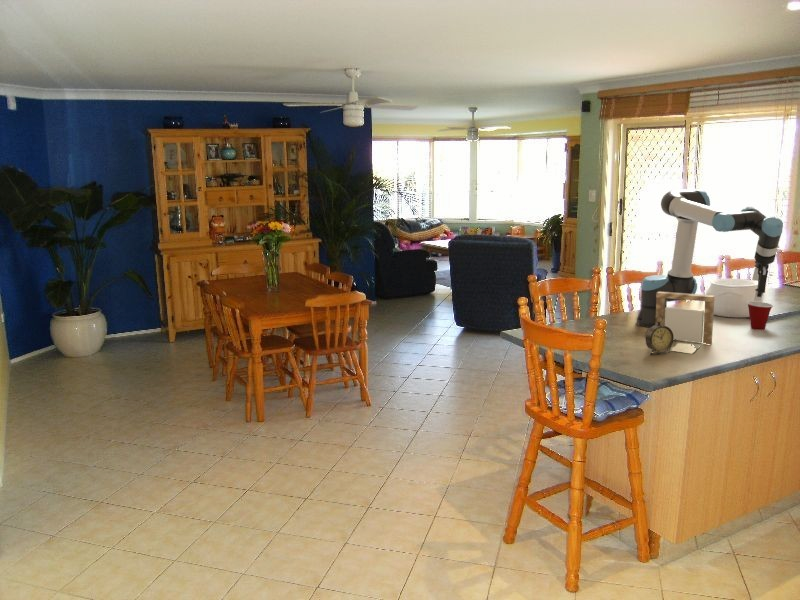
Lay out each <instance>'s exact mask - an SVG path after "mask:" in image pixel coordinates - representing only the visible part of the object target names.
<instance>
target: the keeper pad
mask: <svg viewBox="0 0 800 600" xmlns="http://www.w3.org/2000/svg"><path fill="white" fill-rule="evenodd" d="M689 343H690V344H691V346H692V344H693V345H694V346H695V347H694V348H696V349H697V348H698V347H699V346H700V345H701V346H702V344H701V343H694V342H692V343H691V342H689Z"/></svg>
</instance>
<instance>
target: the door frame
mask: <svg viewBox="0 0 800 600" xmlns="http://www.w3.org/2000/svg"><path fill="white" fill-rule="evenodd" d="M656 297H657V298H656V317H657V316H658V315H661V316H662V317H663V320H662V317H661V316H658V317H657V322H660V325H662V326H664V320H665V298H670V299H683V301H685V300H686V301H698V302H704V317H703V336H702V344H703V343H706V344H711V343H712V342H713V332H714V331H713V326H714V314H713V313H714V299H715V296H714V295H706V294H701V293H699V294H698V293H695V294H687V293H674V292H660V291H659V292H657V293H656ZM661 321H662V322H661ZM657 322H656V325H658V323H657ZM712 344H713V343H712ZM712 344H711V345H712Z"/></svg>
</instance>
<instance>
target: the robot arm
mask: <svg viewBox="0 0 800 600" xmlns="http://www.w3.org/2000/svg"><path fill="white" fill-rule="evenodd" d="M660 206H661V210H662V212H663V213H665V214H666V215H668V216H670V217H674V218H676V220H677V221H678V222H677V229H676V235H675V242H674V248H673V249H674V250H673V256H672V257H673V259H672V263H671V264H672V265H671V269H670V270H668V271H667V273H666V274H667V275H664V274H654V275H649V276H648V275H647V276H645V277H644V278H642V281H641V285H640V286H641V287H640V289H641V292H640V294H641V299H640V309H639V311H638V312H639V313H638V314H637V317H636V324H637V325H638V324H639V325H638V326H640V325H643V326H642V327H644V326H648V327H647V328H651V327H652V326H654V325H656V298H657V297H656V293H657V292H659V291H660V292H674V293H687V294H697V291H698V283H697V279H696V278H695V277H694V273H693V272H692V264H693V257H694V253H695V243H696V240H697V239H696V237H697V231H698V226H699V225H698V224H699V223H700V224H702V225H703V224H704V225H707V226H709V227H710V226H711V227H712V228H713V229H714V230H715V231H716V232H722V233H723V232H724V233H727V232H734V231H748V230H749V231H752V232H753V233H754V234H755V235H756V236H758V240H757V245H756V250H755V252H754V260H755V261H754V263H755V265H754V270H753V275H752V278H751V280H753V281H756V282H758V285H757V286H758V287H757V289H755V291H756V293H755V297H754V301H760V302H761V300H762V298H763V295H764V294H765V293H766V286H767V281H768V280H767V278H768V274H769V270H768V269H769V265H771V264H773V263H774V262H775V259H776V254H777V251H778V249H779V248H780V245H779V243H780V240H781V237H782V234H783V229H784V223H783V221H782V220H781V219H780V218H778V217H775V216H768V217H767V216H766V215H765V214H764V213H762V212H761V211H759V210H758V209H756V208H755V207H752V206H746V207H745V208H742V209H741V210H740V211H737V212H732V211H731V212H729V211H727V210H723V209H719V208H717V207H714V206H713V207H712V206H711V201H710V197H709V195H708V193H707V192H706V191H705V190H703V189H699V188H686V189H673V190H670V191H668V192H667V193H665V194H664V195H663V197H662V198H661V201H660ZM679 301H684V300H683V299H670V298H665V308H666V307H668V306H667V304H668V302H679ZM664 326H665V320H664Z"/></svg>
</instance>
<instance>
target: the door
mask: <svg viewBox="0 0 800 600" xmlns="http://www.w3.org/2000/svg"><path fill="white" fill-rule="evenodd" d="M704 312H705V309H696V308H695V309H694V308H693V309H692V308H684V307H683V308H681V307H674V306H673V307H672V306H667V307H666V308H665V326H667V327H669V328H670V329H671V330H672V332H673V336H674V339H678V340H677V341H681V340H687V341H686V342H690V341H694V342H693V343H699V342H700V343H699V344H701V343H703V331H704Z"/></svg>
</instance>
